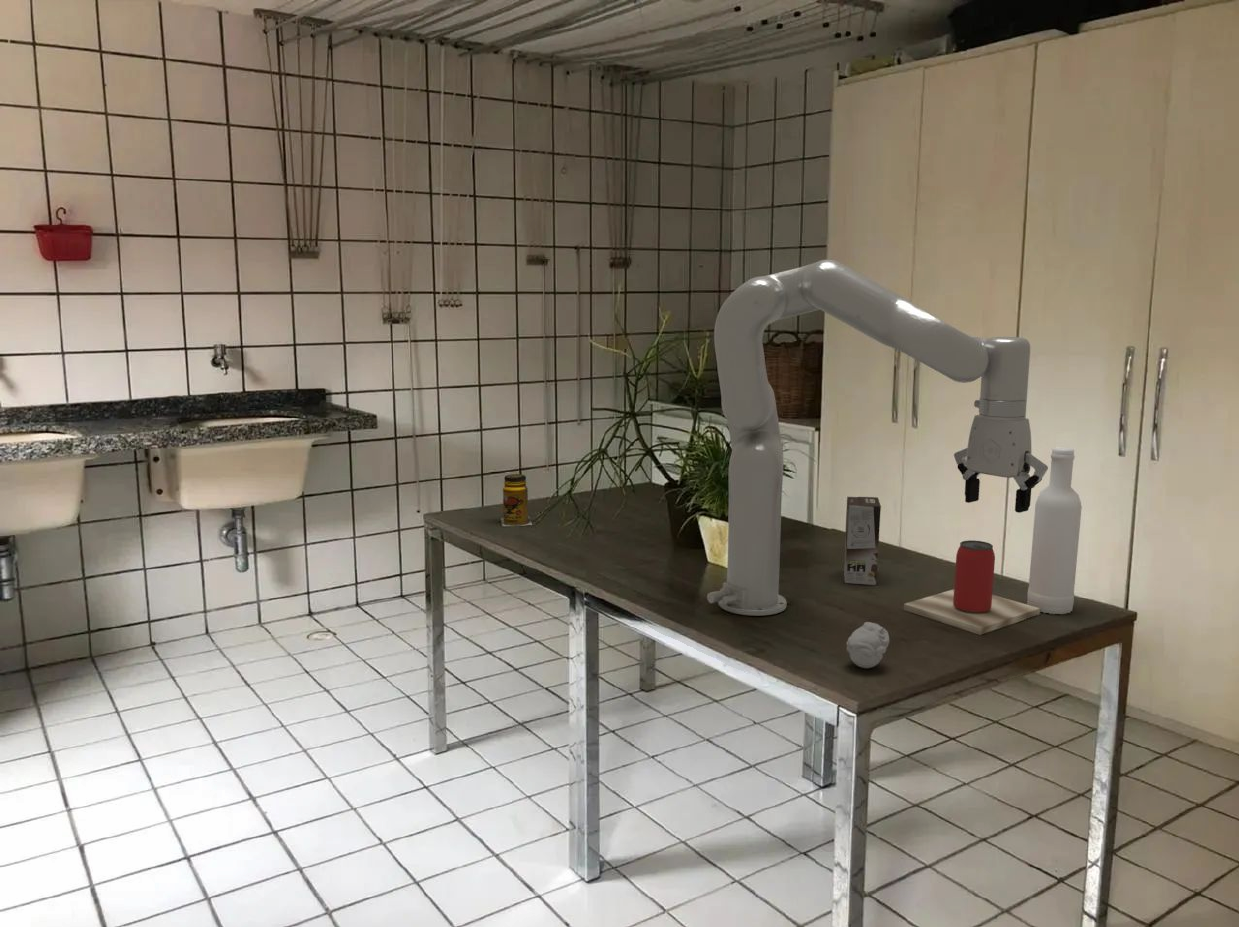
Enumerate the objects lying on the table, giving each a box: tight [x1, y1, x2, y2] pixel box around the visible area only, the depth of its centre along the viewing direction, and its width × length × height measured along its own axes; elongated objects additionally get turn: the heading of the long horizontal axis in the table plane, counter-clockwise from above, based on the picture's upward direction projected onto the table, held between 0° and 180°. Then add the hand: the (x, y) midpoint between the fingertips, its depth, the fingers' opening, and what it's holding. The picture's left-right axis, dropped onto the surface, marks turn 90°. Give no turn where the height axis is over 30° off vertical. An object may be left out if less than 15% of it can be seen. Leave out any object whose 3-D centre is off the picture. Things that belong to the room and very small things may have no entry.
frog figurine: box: [846, 621, 890, 669], centre depth 156 cm, size 6×7×7 cm
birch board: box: [903, 588, 1041, 636], centre depth 182 cm, size 18×16×1 cm
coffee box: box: [843, 496, 882, 586], centre depth 202 cm, size 9×6×16 cm
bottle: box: [1026, 446, 1083, 615], centre depth 182 cm, size 8×8×30 cm
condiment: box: [500, 473, 533, 527], centre depth 247 cm, size 7×8×12 cm
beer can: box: [953, 540, 996, 613], centre depth 180 cm, size 7×7×12 cm
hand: (996, 506), depth 175 cm, fingers open, 9 cm apart
